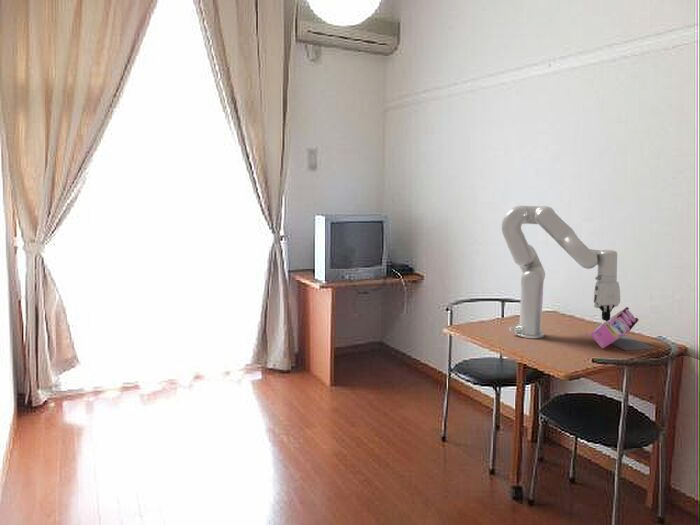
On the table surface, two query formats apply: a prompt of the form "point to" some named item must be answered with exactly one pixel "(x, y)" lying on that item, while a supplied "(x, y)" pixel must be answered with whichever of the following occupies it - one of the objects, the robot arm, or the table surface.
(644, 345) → the mat
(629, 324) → the gum box
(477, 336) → the table surface
